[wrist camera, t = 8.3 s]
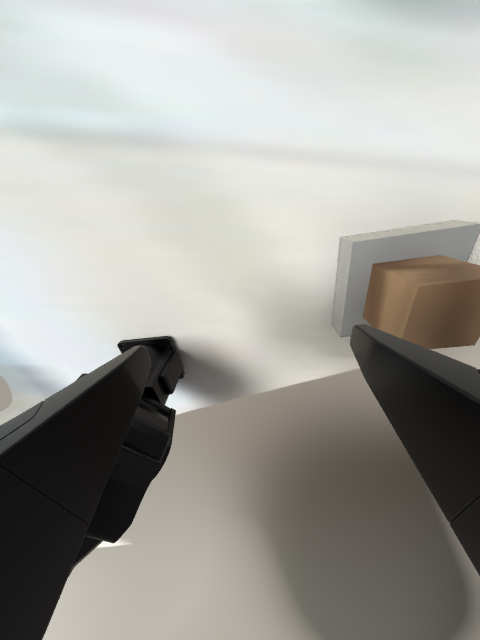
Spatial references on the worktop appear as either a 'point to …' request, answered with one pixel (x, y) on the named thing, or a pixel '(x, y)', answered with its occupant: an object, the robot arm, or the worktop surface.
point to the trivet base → (387, 247)
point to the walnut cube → (426, 301)
